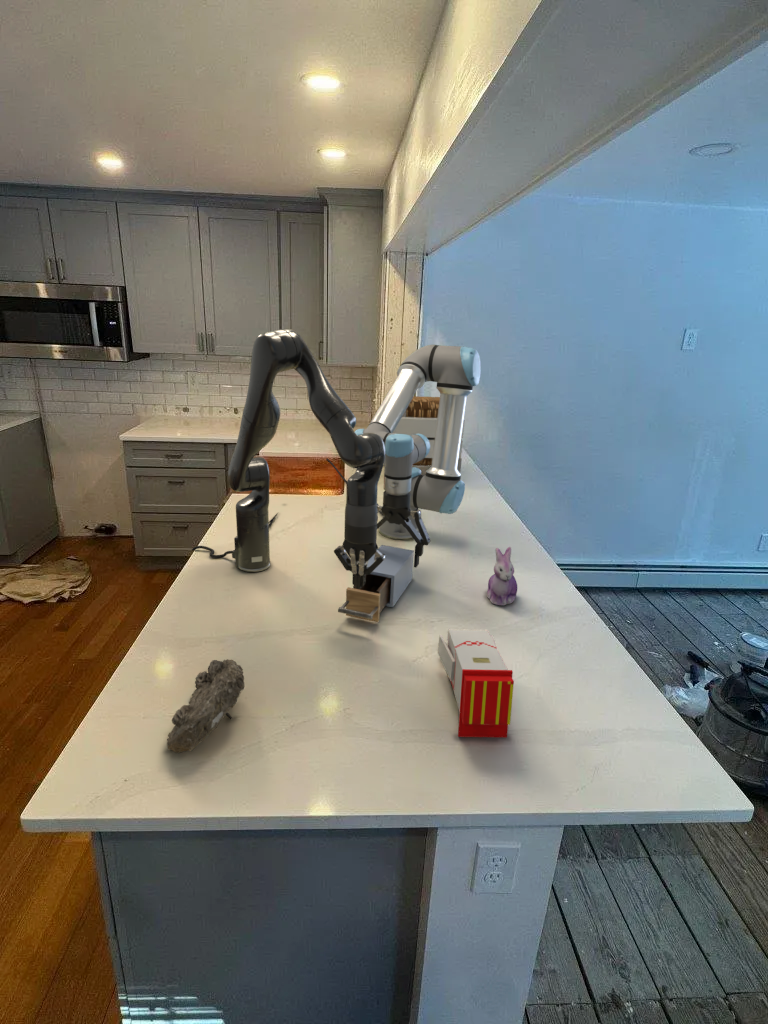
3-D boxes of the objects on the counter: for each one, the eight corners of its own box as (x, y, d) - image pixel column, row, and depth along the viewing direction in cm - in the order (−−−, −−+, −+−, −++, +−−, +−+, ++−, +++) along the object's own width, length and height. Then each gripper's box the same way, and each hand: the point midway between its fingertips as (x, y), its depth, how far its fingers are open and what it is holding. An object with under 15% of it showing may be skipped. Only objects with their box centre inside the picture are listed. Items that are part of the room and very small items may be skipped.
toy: (488, 613, 130) (523, 677, 101) (484, 667, 133) (517, 744, 104) (435, 612, 130) (455, 676, 101) (432, 666, 133) (451, 743, 103)
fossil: (192, 660, 117) (244, 628, 112) (224, 691, 120) (276, 661, 115) (142, 746, 98) (202, 712, 93) (182, 779, 101) (242, 748, 96)
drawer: (370, 632, 137) (371, 605, 134) (337, 625, 139) (338, 598, 137) (398, 593, 156) (399, 568, 154) (368, 587, 159) (369, 563, 156)
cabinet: (392, 607, 151) (394, 575, 147) (358, 600, 154) (359, 568, 150) (411, 579, 167) (413, 550, 163) (380, 573, 169) (381, 544, 166)
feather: (285, 507, 224) (287, 503, 224) (267, 531, 198) (270, 526, 197) (281, 504, 224) (284, 500, 223) (263, 528, 197) (265, 524, 197)
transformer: (382, 463, 289) (386, 382, 275) (445, 464, 293) (451, 384, 279) (390, 482, 257) (394, 392, 243) (460, 483, 261) (468, 394, 247)
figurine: (499, 610, 151) (506, 558, 146) (476, 593, 160) (482, 544, 155) (527, 603, 156) (534, 553, 151) (503, 587, 164) (509, 539, 159)
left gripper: (328, 520, 129) (327, 588, 135) (382, 529, 125) (379, 599, 131) (341, 510, 136) (339, 575, 142) (393, 519, 132) (389, 585, 138)
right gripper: (349, 488, 156) (348, 559, 163) (437, 501, 148) (432, 574, 156) (359, 481, 162) (358, 549, 170) (444, 493, 155) (439, 563, 163)
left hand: (358, 587), depth 137 cm, fingers closed
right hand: (393, 561), depth 163 cm, fingers open, 13 cm apart
